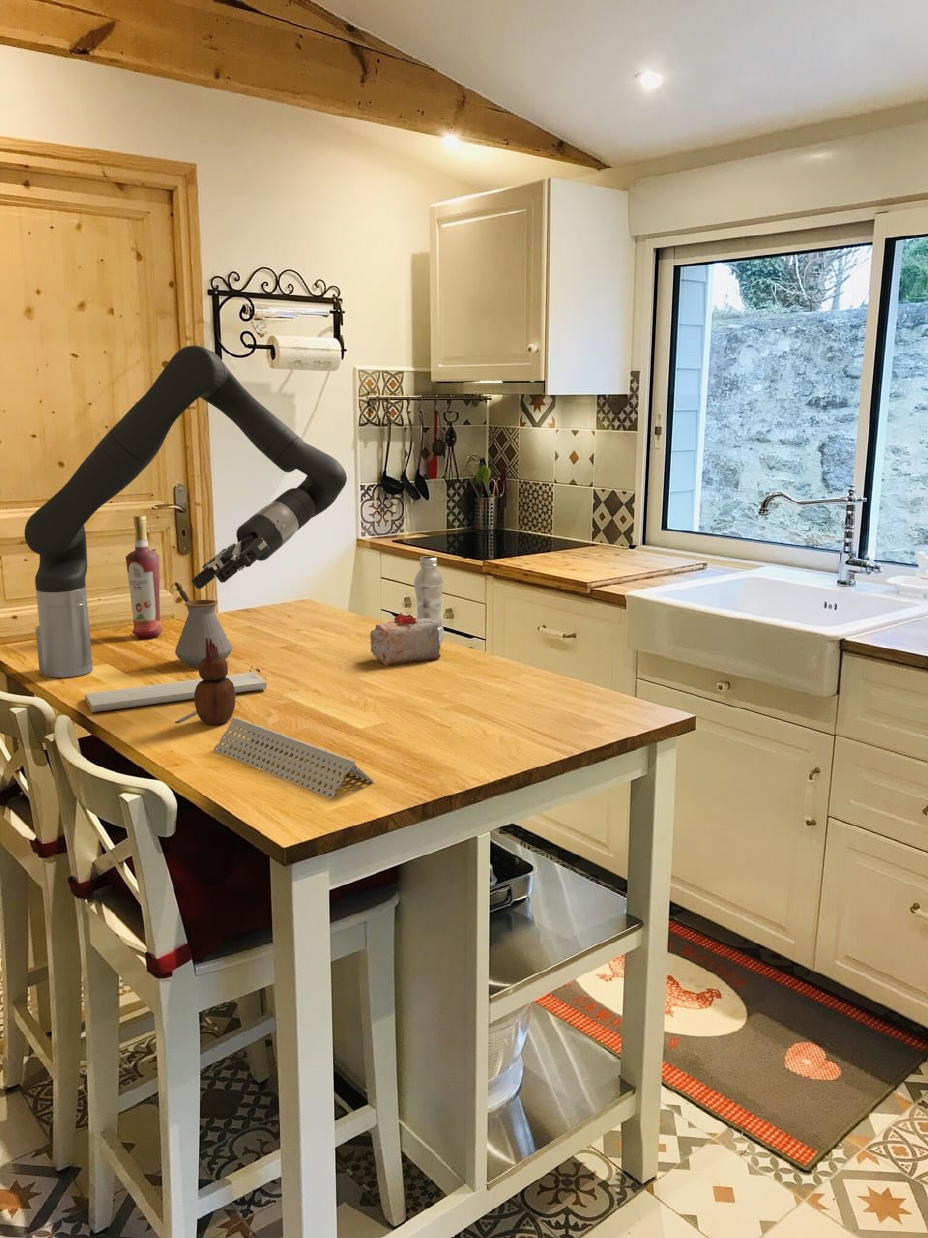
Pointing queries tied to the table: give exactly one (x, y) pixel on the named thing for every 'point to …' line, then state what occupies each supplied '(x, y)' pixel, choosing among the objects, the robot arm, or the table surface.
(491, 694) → the table surface
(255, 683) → the baseboard molding
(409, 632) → the food item
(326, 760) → the corner bead
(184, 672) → the table surface
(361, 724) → the table surface
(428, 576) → the plastic bottle
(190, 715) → the thin grey rod
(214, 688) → the wooden figurine
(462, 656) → the table surface
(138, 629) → the liquor
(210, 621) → the coffee pot
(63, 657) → the robot arm
